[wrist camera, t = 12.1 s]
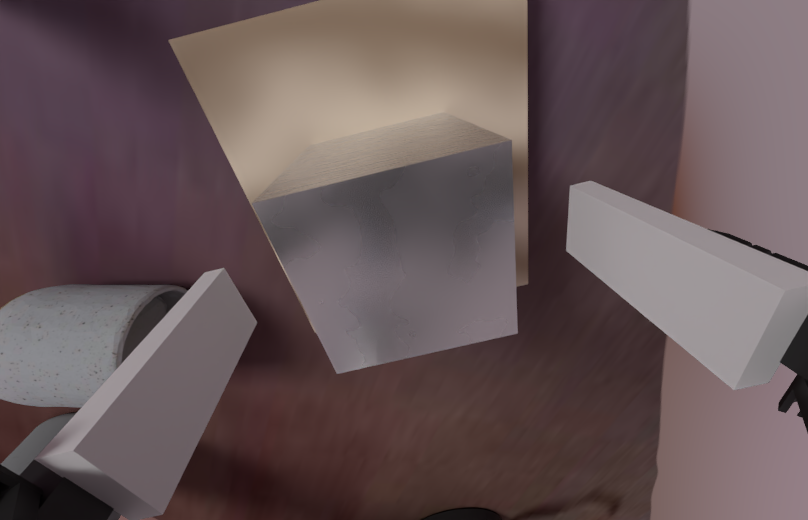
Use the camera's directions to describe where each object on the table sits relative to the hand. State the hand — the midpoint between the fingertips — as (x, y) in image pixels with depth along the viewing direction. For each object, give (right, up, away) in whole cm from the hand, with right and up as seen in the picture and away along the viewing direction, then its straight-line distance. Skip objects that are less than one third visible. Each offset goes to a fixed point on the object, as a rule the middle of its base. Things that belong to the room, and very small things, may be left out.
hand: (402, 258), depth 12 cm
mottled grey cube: (-1, +4, +6) cm, 7 cm away
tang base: (-1, +5, +8) cm, 9 cm away
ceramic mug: (-19, -5, +12) cm, 23 cm away
